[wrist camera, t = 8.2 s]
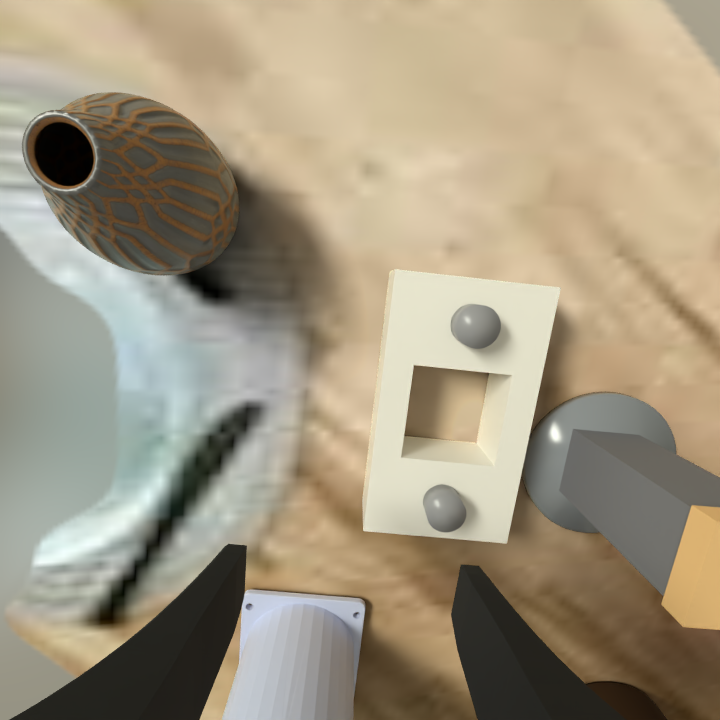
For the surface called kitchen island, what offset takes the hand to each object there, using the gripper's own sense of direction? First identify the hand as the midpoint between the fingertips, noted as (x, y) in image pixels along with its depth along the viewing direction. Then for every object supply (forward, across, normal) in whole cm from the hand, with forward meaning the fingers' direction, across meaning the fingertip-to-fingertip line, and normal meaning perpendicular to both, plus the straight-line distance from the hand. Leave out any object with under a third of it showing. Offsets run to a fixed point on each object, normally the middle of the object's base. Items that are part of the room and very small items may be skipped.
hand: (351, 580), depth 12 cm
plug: (+10, -15, 0) cm, 18 cm away
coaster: (+10, -15, 0) cm, 18 cm away
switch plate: (+10, -5, -3) cm, 12 cm away
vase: (+11, +10, -12) cm, 19 cm away
